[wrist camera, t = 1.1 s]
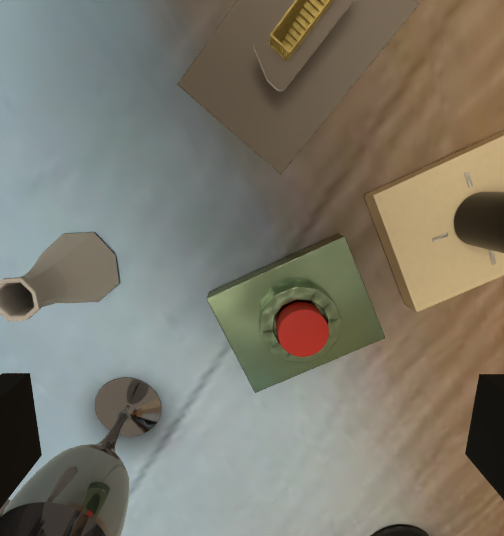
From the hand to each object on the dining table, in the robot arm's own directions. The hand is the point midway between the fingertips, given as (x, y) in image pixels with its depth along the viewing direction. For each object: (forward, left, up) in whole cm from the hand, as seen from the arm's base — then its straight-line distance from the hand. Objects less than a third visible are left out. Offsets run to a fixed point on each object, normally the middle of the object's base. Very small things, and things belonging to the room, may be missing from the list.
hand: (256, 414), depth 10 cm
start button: (+3, +6, -20) cm, 21 cm away
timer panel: (-12, +17, -24) cm, 32 cm away
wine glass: (+20, -6, -24) cm, 32 cm away
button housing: (+3, +6, -24) cm, 25 cm away
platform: (-19, -4, -24) cm, 31 cm away
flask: (+7, -15, -24) cm, 29 cm away
